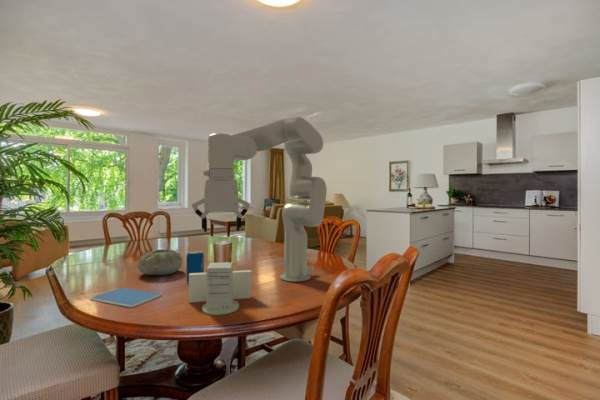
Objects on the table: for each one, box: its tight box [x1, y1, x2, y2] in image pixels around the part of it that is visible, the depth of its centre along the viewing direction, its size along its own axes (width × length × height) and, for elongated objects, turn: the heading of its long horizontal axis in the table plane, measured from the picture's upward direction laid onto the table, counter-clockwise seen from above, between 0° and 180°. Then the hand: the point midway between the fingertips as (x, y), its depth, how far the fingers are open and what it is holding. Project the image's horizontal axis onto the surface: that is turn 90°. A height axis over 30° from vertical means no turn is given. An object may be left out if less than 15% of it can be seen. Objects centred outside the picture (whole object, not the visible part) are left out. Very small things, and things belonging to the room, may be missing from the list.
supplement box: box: [205, 261, 234, 310], centre depth 95 cm, size 7×7×13 cm
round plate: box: [201, 299, 240, 316], centre depth 96 cm, size 11×11×1 cm
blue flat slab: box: [89, 287, 163, 309], centre depth 104 cm, size 19×13×1 cm, turn 69°
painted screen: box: [188, 269, 252, 304], centre depth 103 cm, size 20×2×9 cm, turn 104°
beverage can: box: [185, 250, 205, 284], centre depth 122 cm, size 6×6×12 cm
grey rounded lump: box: [136, 248, 183, 276], centre depth 134 cm, size 18×18×10 cm
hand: (221, 230), depth 95 cm, fingers open, 9 cm apart
